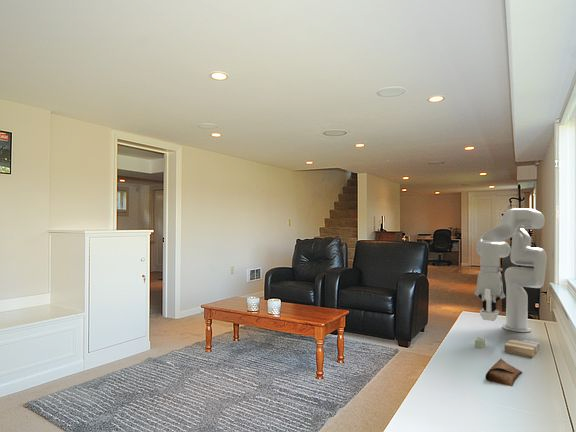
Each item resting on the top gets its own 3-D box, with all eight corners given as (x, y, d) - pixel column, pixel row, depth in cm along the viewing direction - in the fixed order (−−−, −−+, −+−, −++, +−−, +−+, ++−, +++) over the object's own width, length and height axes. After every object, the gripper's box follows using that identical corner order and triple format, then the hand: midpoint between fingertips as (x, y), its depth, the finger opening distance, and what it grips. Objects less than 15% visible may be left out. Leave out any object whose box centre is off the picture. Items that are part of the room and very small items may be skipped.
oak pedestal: (510, 346, 174) (511, 339, 174) (537, 351, 168) (537, 344, 168) (504, 351, 166) (504, 344, 166) (532, 357, 160) (532, 350, 160)
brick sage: (477, 344, 177) (477, 337, 177) (485, 345, 175) (485, 338, 175) (474, 347, 172) (474, 340, 172) (482, 348, 171) (482, 341, 171)
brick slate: (521, 347, 173) (522, 340, 173) (524, 346, 175) (524, 339, 175) (537, 351, 169) (537, 344, 169) (539, 349, 171) (539, 342, 171)
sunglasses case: (514, 387, 129) (502, 366, 131) (493, 393, 133) (482, 373, 135) (523, 372, 143) (512, 353, 145) (504, 377, 147) (494, 359, 149)
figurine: (500, 318, 182) (500, 285, 182) (496, 322, 175) (496, 288, 175) (483, 316, 187) (483, 283, 187) (478, 320, 179) (478, 286, 179)
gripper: (511, 270, 178) (511, 311, 178) (473, 267, 189) (473, 306, 189) (507, 272, 173) (507, 314, 173) (468, 268, 183) (467, 309, 183)
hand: (489, 309), depth 181 cm, fingers closed on figurine, 2 cm apart
